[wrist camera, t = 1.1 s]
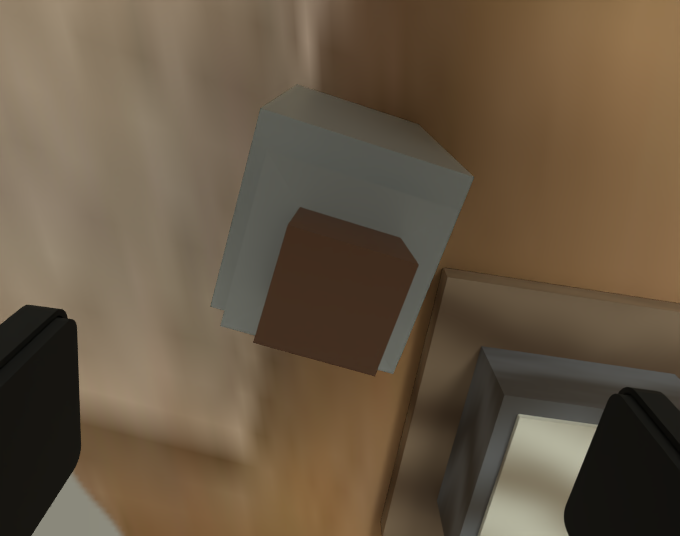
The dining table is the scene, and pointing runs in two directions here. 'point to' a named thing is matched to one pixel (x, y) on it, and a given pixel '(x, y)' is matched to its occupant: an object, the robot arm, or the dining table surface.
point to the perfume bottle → (337, 230)
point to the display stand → (518, 401)
